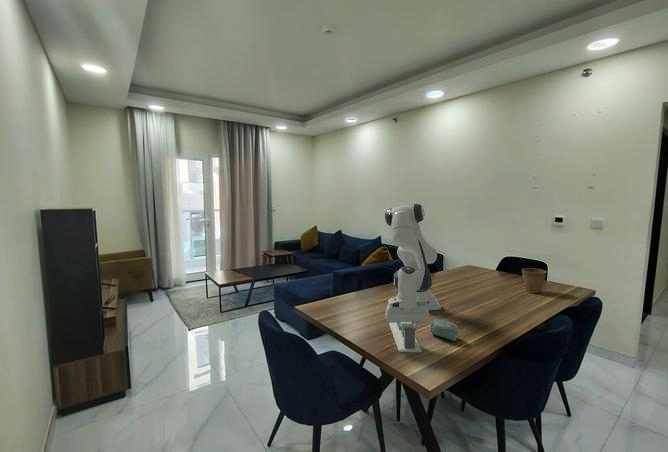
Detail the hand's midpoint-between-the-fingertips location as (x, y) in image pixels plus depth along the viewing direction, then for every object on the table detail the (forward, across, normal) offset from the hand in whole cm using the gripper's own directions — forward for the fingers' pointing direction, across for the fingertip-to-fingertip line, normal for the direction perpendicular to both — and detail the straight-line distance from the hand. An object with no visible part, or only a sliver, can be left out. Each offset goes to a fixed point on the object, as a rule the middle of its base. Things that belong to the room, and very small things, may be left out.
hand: (406, 330), depth 149 cm
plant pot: (+7, -106, -79) cm, 132 cm away
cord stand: (+7, 0, -7) cm, 10 cm away
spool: (+7, -20, -7) cm, 22 cm away
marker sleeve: (+2, 0, 0) cm, 2 cm away
